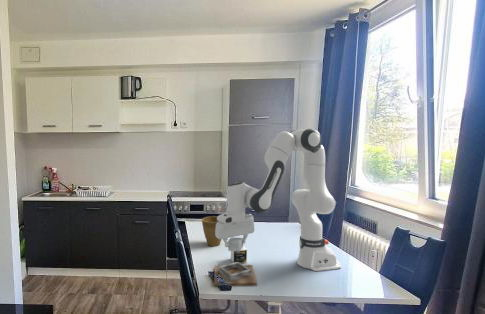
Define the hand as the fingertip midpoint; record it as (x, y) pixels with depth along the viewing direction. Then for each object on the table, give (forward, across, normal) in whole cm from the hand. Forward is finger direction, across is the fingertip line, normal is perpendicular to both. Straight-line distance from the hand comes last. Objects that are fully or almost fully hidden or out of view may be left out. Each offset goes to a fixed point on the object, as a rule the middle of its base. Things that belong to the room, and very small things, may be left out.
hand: (235, 244), depth 137 cm
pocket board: (+15, 0, 0) cm, 15 cm away
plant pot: (+15, -12, -44) cm, 48 cm away
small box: (+2, 0, 0) cm, 2 cm away
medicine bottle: (+15, -12, -14) cm, 24 cm away
